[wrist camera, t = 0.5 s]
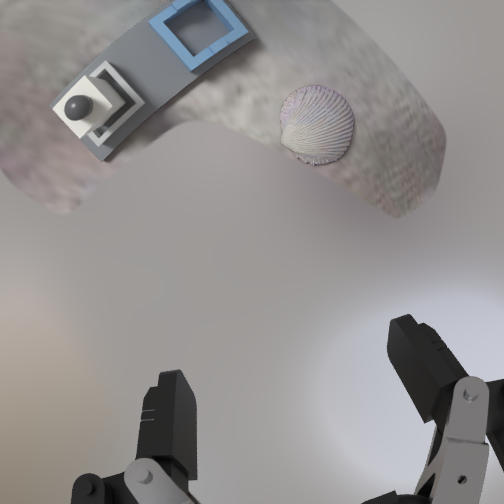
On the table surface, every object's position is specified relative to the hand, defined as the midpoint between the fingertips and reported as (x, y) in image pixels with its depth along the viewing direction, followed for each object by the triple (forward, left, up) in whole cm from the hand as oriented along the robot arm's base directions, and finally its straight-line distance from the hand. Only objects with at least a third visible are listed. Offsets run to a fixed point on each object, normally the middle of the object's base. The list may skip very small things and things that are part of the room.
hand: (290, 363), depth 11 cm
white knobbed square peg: (-11, +6, -27) cm, 30 cm away
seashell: (+13, +8, -28) cm, 32 cm away
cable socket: (-7, +11, -27) cm, 30 cm away
